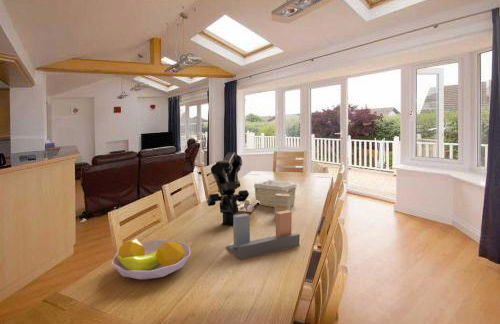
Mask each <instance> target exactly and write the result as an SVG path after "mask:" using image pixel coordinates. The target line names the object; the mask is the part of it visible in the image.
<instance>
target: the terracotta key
mask: <svg viewBox="0 0 500 324" xmlns="http://www.w3.org/2000/svg"><path fill="white" fill-rule="evenodd" d="M289 234H292V211H291V212H290V211H288V210H286V211H280V212H276V217H275V236H276V237H280V236H284V235H289Z"/></svg>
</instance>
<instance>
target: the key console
mask: <svg viewBox="0 0 500 324" xmlns="http://www.w3.org/2000/svg"><path fill="white" fill-rule="evenodd" d="M300 236H301V235H300V233H297V232H295V233H291V234H289V235H284V236H280V237H276V235H272V236H268V237H263V238H258V239H253V240H250V243H247V244H242V245H238V248H236V247H234V244H230V245H226V247H225V248H226V249H227V250H228V251H229V252H231V254H233V255H234V256H235V257H236V258H237V259H238V260H239V261H240V260H245V259H249V258H255V257H258V256H261V255H267V254H270V253H274V252H279V251H283V250H286V249H290V248H291V249H292V248H295V247H299V246H300Z"/></svg>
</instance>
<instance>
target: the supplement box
mask: <svg viewBox="0 0 500 324" xmlns="http://www.w3.org/2000/svg"><path fill="white" fill-rule="evenodd" d="M286 210H288V211H290V212H292V206H291V195H289V194H280V193H278V194H275V207H274V218H276V212H280V211H286Z"/></svg>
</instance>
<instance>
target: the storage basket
mask: <svg viewBox="0 0 500 324" xmlns="http://www.w3.org/2000/svg"><path fill="white" fill-rule="evenodd" d="M253 187H254V195H255V201H256V200H258V201H260V205H259V206H265V207H270V208H275V194H278V193H280V194H289V195H291V207H292V206H294V205H295V200H296V191H297V189H296V188H297V183H296V182H289V181H280V180H274V179H265V180H260V181H257V182H254V185H253Z"/></svg>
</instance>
